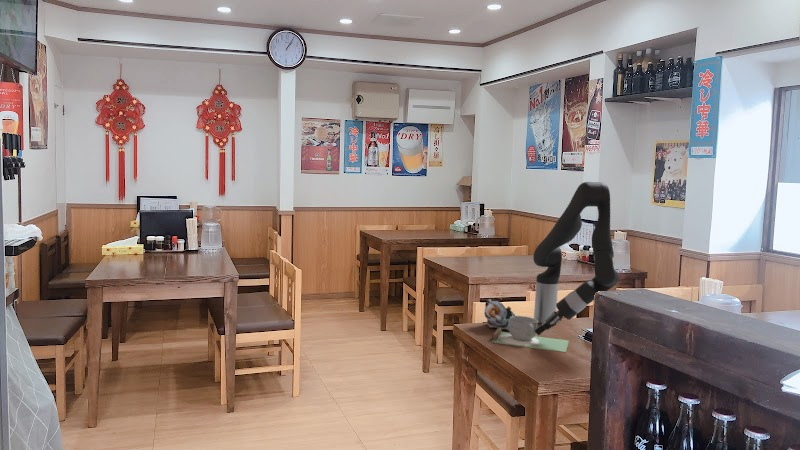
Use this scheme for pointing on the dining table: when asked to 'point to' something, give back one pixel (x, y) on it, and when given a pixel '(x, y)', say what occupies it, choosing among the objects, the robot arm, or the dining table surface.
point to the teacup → (522, 327)
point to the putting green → (530, 341)
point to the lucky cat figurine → (497, 314)
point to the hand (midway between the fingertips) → (536, 332)
